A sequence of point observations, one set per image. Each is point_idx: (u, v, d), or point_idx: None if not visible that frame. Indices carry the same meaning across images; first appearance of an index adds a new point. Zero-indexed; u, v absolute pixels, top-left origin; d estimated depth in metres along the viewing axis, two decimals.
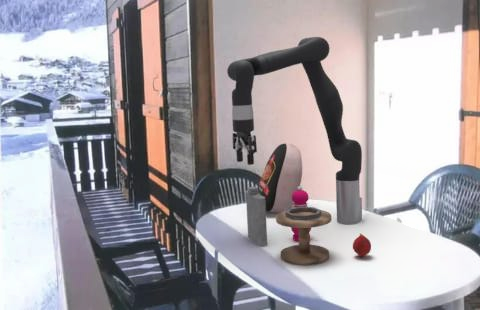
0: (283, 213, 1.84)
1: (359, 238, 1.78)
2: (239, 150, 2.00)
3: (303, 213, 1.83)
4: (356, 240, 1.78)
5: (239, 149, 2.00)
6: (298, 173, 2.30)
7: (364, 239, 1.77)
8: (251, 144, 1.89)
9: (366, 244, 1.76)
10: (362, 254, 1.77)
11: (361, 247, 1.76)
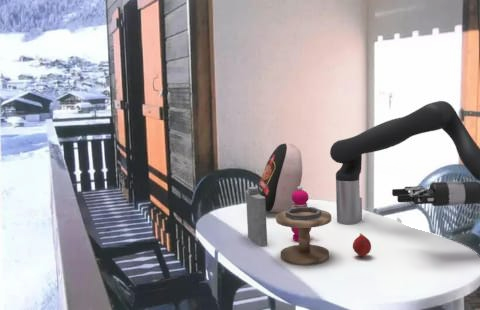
0: (283, 213, 1.84)
1: (359, 238, 1.78)
2: None
3: (303, 213, 1.83)
4: (356, 240, 1.78)
5: None
6: (298, 173, 2.30)
7: (364, 239, 1.77)
8: None
9: (366, 244, 1.76)
10: (362, 254, 1.77)
11: (361, 247, 1.76)
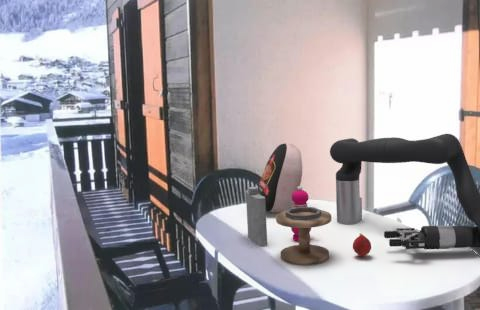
0: (283, 213, 1.84)
1: (359, 238, 1.78)
2: None
3: (303, 213, 1.83)
4: (356, 240, 1.78)
5: None
6: (298, 173, 2.30)
7: (364, 239, 1.77)
8: None
9: (366, 244, 1.76)
10: (362, 254, 1.77)
11: (361, 247, 1.76)
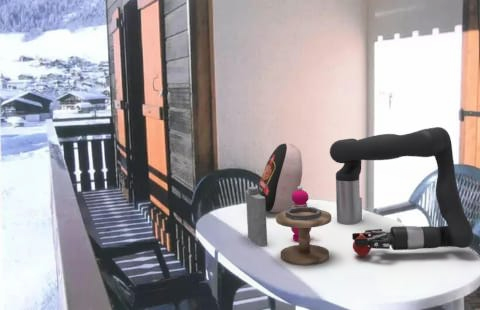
0: (283, 213, 1.84)
1: (359, 238, 1.78)
2: None
3: (303, 213, 1.83)
4: None
5: None
6: (298, 173, 2.30)
7: None
8: None
9: None
10: (362, 254, 1.77)
11: (361, 247, 1.76)
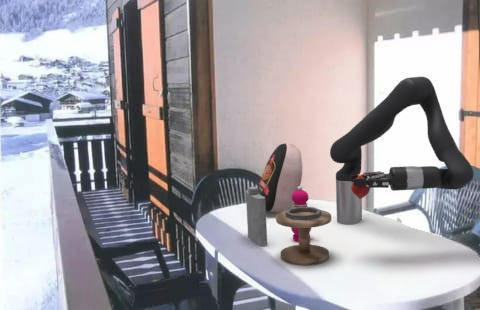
0: (283, 213, 1.84)
1: None
2: None
3: (303, 213, 1.83)
4: None
5: None
6: (298, 173, 2.30)
7: None
8: None
9: None
10: (361, 195, 1.74)
11: (360, 187, 1.73)
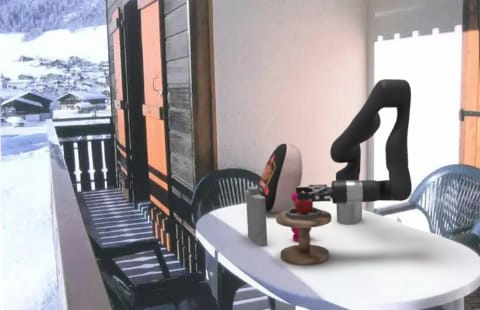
0: (283, 213, 1.84)
1: None
2: None
3: None
4: None
5: None
6: (298, 173, 2.30)
7: None
8: None
9: (308, 202, 1.77)
10: (303, 212, 1.78)
11: (302, 204, 1.77)
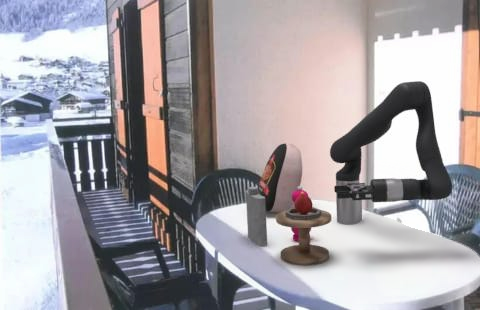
0: (283, 213, 1.84)
1: (300, 196, 1.79)
2: None
3: None
4: (297, 198, 1.79)
5: None
6: (298, 173, 2.30)
7: (305, 197, 1.78)
8: None
9: (307, 202, 1.77)
10: (303, 212, 1.78)
11: (302, 204, 1.77)
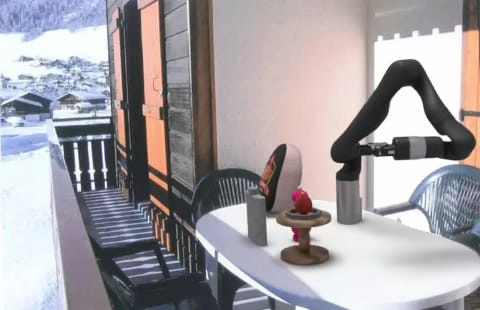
0: (283, 213, 1.84)
1: (300, 196, 1.79)
2: None
3: None
4: (297, 198, 1.79)
5: None
6: (298, 173, 2.30)
7: (305, 197, 1.78)
8: None
9: (307, 202, 1.77)
10: (303, 212, 1.78)
11: (302, 204, 1.77)
